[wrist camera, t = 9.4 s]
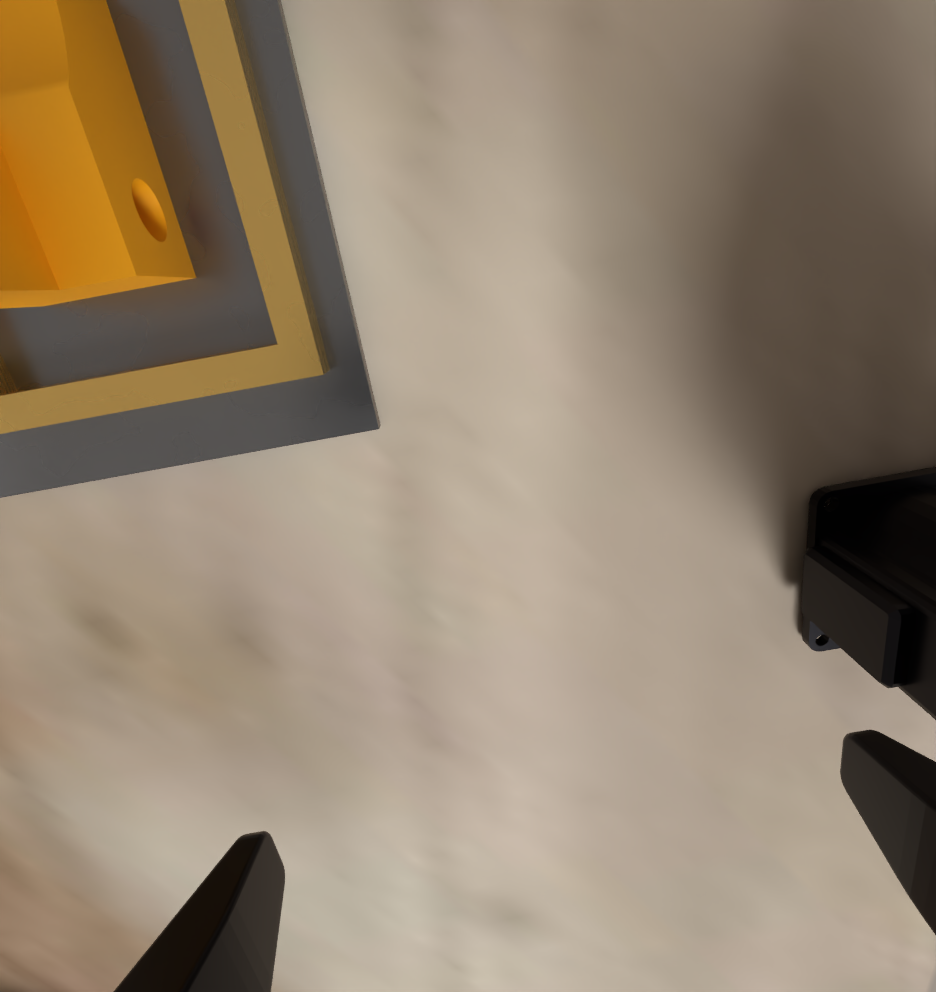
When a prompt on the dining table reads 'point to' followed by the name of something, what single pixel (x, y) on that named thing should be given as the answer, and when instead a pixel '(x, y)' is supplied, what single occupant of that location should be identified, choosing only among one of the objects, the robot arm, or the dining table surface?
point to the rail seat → (199, 278)
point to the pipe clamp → (77, 163)
